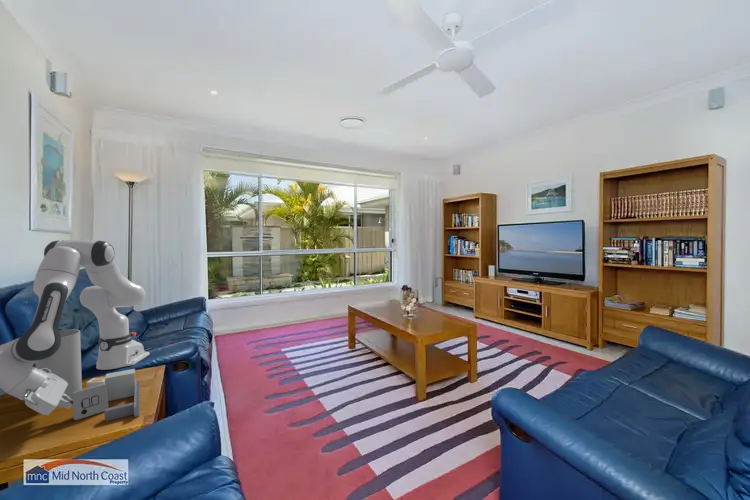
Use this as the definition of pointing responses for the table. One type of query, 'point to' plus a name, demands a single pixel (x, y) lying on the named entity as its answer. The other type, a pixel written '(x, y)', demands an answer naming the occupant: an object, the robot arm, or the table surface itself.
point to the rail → (137, 399)
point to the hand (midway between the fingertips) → (72, 405)
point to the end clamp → (119, 411)
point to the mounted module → (120, 384)
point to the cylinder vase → (66, 361)
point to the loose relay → (95, 382)
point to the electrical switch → (90, 401)
